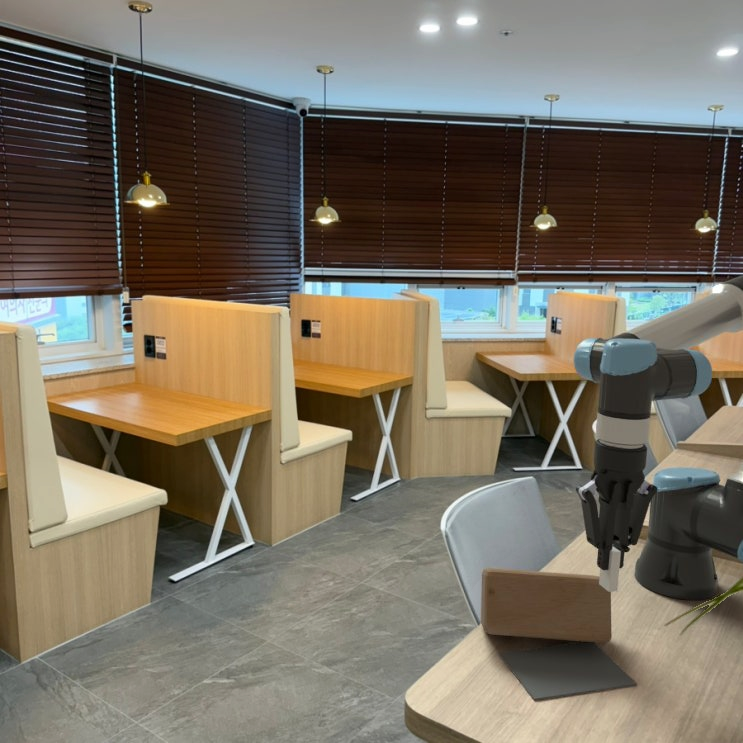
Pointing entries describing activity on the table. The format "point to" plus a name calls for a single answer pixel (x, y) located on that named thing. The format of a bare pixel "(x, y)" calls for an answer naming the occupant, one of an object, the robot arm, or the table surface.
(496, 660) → the table surface
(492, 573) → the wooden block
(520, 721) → the table surface
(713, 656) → the table surface
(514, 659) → the mat
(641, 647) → the table surface
